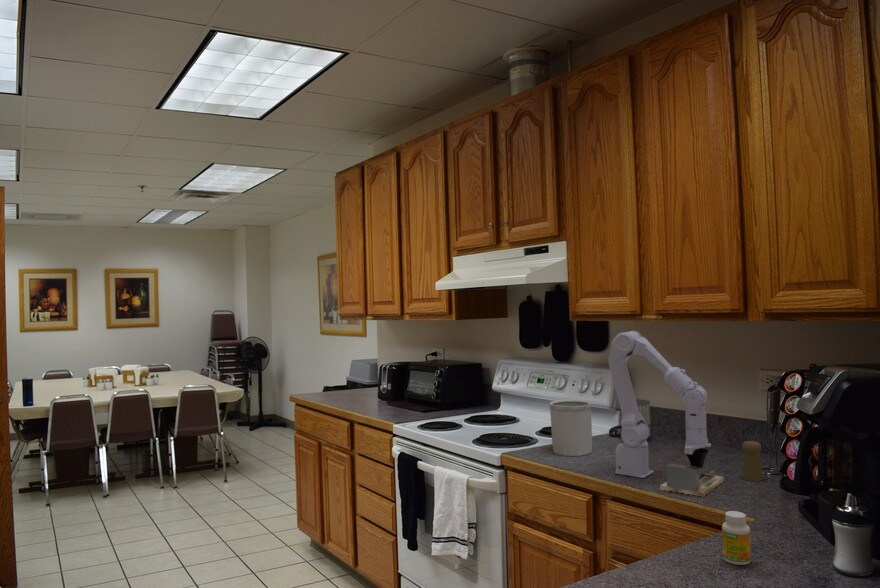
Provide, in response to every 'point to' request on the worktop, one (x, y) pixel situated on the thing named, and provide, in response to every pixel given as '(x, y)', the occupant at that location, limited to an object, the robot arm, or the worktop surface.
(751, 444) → the cork
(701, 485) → the gauge board
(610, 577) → the worktop surface
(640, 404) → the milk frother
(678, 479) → the grey box
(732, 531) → the supplement bottle
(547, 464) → the worktop surface
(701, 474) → the gauge carriage
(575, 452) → the utensil holder
